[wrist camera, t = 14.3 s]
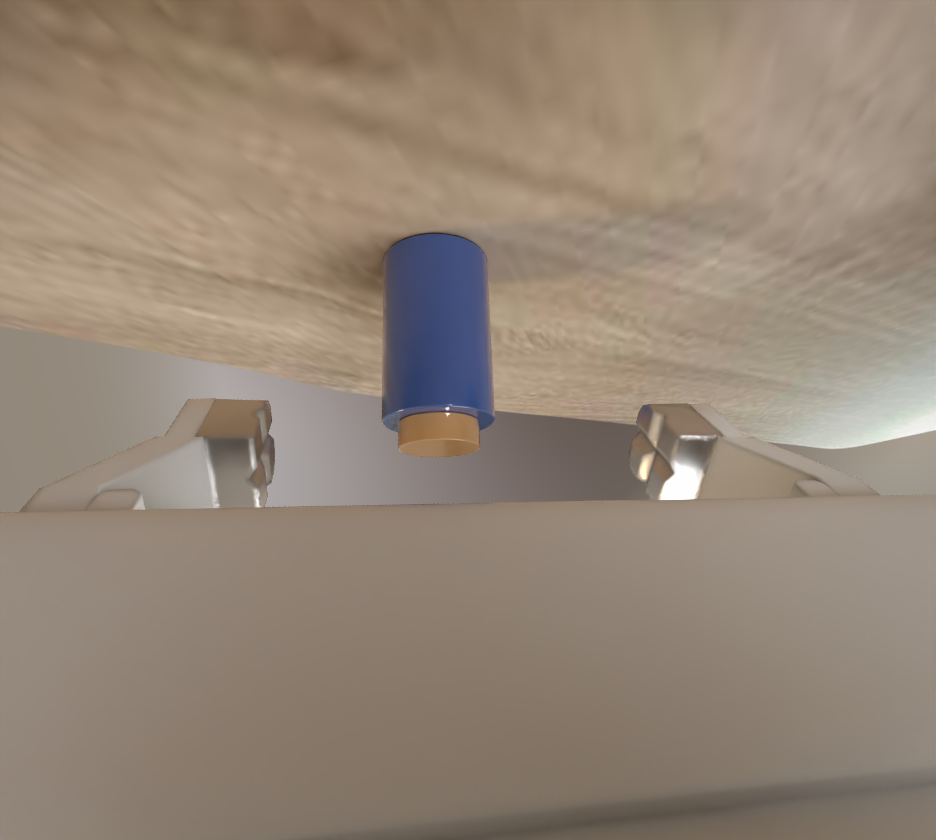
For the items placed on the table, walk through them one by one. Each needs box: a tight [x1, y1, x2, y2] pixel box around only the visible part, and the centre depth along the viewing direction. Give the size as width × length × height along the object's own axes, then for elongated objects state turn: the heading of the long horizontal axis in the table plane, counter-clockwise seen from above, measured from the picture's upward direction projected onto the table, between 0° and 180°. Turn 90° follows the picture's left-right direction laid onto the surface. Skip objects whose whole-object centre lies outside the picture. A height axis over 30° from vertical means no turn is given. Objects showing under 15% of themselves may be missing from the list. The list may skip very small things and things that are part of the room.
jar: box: [382, 234, 495, 457], centre depth 22 cm, size 4×4×8 cm
